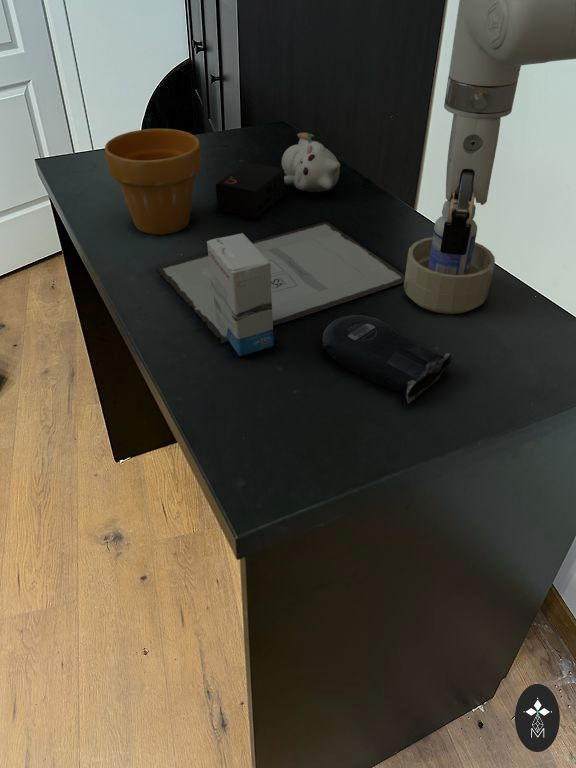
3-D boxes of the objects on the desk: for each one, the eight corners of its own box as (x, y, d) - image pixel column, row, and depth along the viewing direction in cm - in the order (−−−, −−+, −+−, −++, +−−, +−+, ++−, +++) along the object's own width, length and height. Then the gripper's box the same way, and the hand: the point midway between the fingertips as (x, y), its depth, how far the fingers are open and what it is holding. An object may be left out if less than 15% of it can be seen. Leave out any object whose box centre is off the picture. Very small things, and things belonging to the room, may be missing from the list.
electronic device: (284, 196, 116) (284, 168, 112) (256, 220, 108) (255, 191, 105) (247, 189, 118) (246, 161, 115) (217, 211, 111) (215, 183, 107)
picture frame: (221, 344, 81) (411, 280, 93) (221, 342, 81) (411, 278, 93) (154, 268, 95) (326, 222, 107) (154, 267, 95) (326, 220, 107)
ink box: (275, 348, 80) (274, 262, 72) (236, 358, 78) (231, 272, 71) (248, 312, 86) (245, 230, 78) (212, 321, 84) (205, 238, 77)
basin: (485, 279, 93) (494, 240, 90) (486, 321, 85) (495, 281, 81) (407, 270, 95) (412, 232, 92) (399, 311, 87) (404, 271, 83)
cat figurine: (283, 123, 117) (330, 137, 107) (315, 140, 123) (364, 155, 112) (262, 174, 120) (307, 193, 109) (295, 189, 125) (341, 208, 114)
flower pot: (219, 232, 105) (213, 151, 96) (132, 250, 100) (118, 166, 92) (189, 199, 115) (181, 123, 106) (109, 214, 110) (94, 136, 102)
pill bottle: (451, 260, 91) (463, 193, 85) (476, 278, 87) (491, 209, 81) (419, 268, 89) (429, 200, 83) (443, 287, 85) (455, 217, 79)
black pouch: (450, 377, 78) (355, 315, 85) (460, 345, 74) (359, 282, 80) (402, 422, 74) (306, 353, 80) (410, 391, 70) (307, 321, 76)
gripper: (517, 121, 66) (483, 277, 78) (511, 77, 79) (483, 217, 91) (442, 116, 68) (419, 270, 79) (448, 73, 81) (428, 211, 92)
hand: (453, 240), depth 85 cm, fingers closed on pill bottle, 5 cm apart
